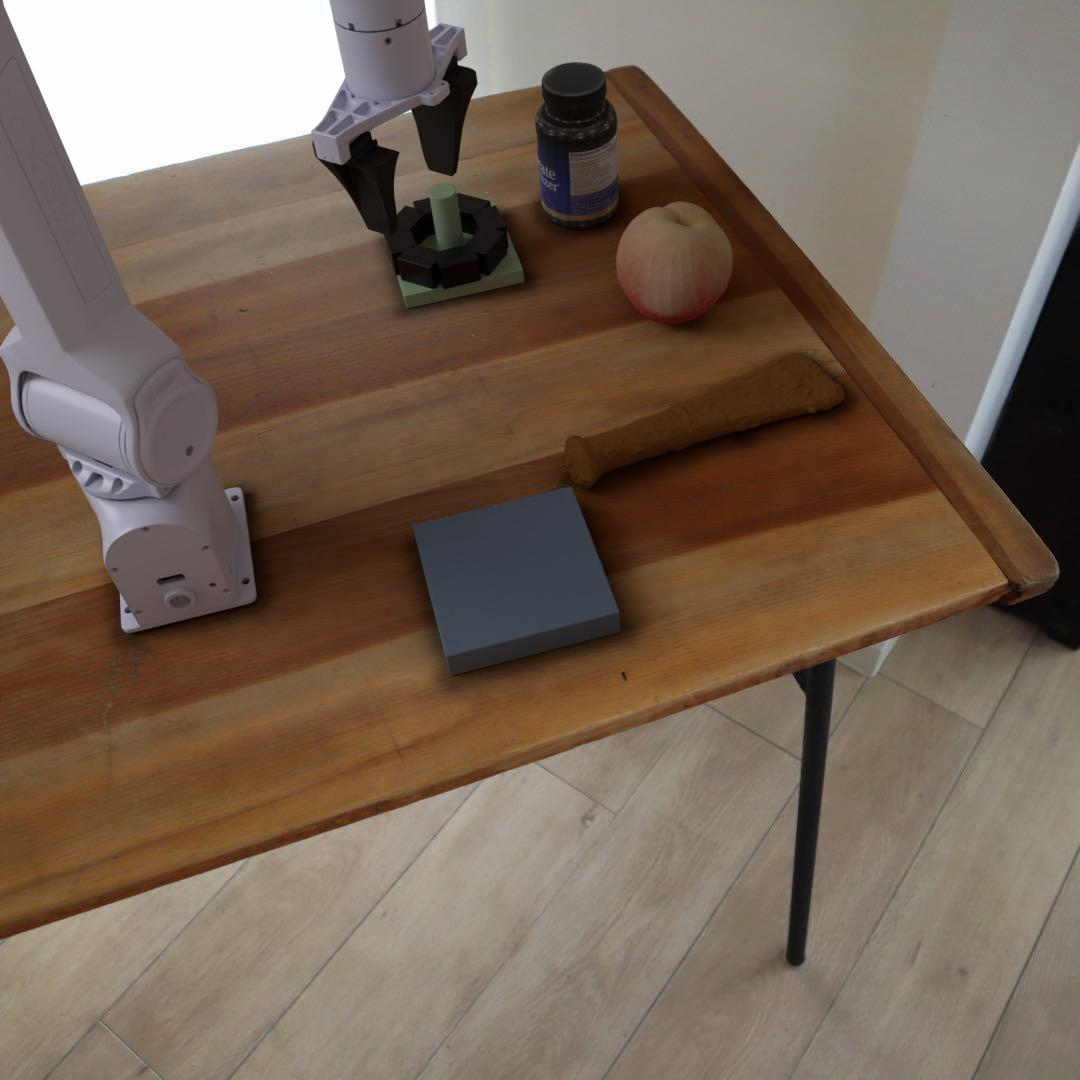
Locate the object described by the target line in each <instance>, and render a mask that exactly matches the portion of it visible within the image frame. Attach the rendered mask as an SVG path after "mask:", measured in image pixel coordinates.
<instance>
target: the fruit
mask: <svg viewBox="0 0 1080 1080" xmlns="http://www.w3.org/2000/svg"><path fill="white" fill-rule="evenodd" d="M733 256H734V255H733V248H732V245H731V242H730V240H729V238H728V236H727V234H726V233H725V231H724V230H723V228H721V226H720V225H719V224H718V223H717V222H716V221H715V219H714V217H713V216H712V215H711V214H710V213H709V212H707V211H706V210H705V209H704V208H703V207H701V206H699V205H697V204H695V203H692V202H688V201H680V200H679V201H675V202H670V203H668V204H667V205H665V206H663V207H661V206H653V207H650V208H647V209H645V210H644V211H642V212H641V213H639V214H638V215H637V216H635V218H633V219H632V220H631V221H630V222H629V224H628V226H627V227H626V229H625V230H624V231H623V233H622V235H621V238H620V240H619V244H618V246H617V250H616V266H615V267H616V275H617V278H618V280H619V283H620V286H621V289H622V291H623V293H624V294H625V297H626V298H627V299H628V301H629V302H630V303H631V305H633V307H634V308H635V309H636V310H637V311H638V312H639V313H640V314H642V315H643V316H644V317H645V318H647V319H648V320H649V321H652V322H654V323H656V324H660V325H664V326H674V325H682V324H685V323H689V322H691V321H693V320H695V319H697V318H699V317H701V316H703V315H704V314H705V313H706V312H707V311H709V310H710V309H711V308H712V307H713V306H714V305H715V304H716V303H717V302H718V301H719V299H720V298H721V297H722V296H723V294H724V293H725V292H726V290H727V288H728V286H729V283H730V279H731V277H732V271H733Z"/></svg>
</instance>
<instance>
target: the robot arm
mask: <svg viewBox="0 0 1080 1080" xmlns="http://www.w3.org/2000/svg"><path fill="white" fill-rule="evenodd" d="M328 1H329V6H330V11H331V15H332V20H333V25H334V29H335V36H336V39H337V44H338V49H339V54H340V58H341V62H342V63H341V64H342V67H343V73H344V79H343V81H342V83H341V85H340V86H339V88H338V90H337V92H336V94H335V96H334V98H333V100H332V101H331V103H330V105H329V107H328V109H327V111H326V113H325V115H324V116H323V118H322V119H321V120H320V122H318V124H317V125H316V126H315V127H314V128H313V129H312V130H311V131H310V132H311V137H312V142H311V146H312V149H313V153H314V157H315V158H316V159H317V161H319V162H320V163H321V164H322V165H323V166H324V167H325V168H326V169H327V170H328V171H329V172H330V173H331V174H332V175H333V176H334V178H335V179H337V181H338V182H339V183H340V185H341V186H342V187H343V188H344V190H345V191H346V192H347V194H348V196H349V197H350V199H351V201H352V202H353V204H354V206H355V207H356V209H357V211H358V213H359V214H360V217H361V218H362V220H363V222H364V224H365V226H366V228H367V230H369V231H372V232H375V233H379V234H382V235H383V236H384V235H388V236H392V235H393V234H394V233H395V232H396V231H397V213H398V212H397V205H396V204H397V203H396V198H395V197H396V196H395V176H396V175H395V174H396V168H397V164H398V161H399V160H398V159H399V156H400V153H401V152H400V151H398V150H395V149H391V148H388V147H384V146H381V145H379V143H378V139H376V138H374V139H373V137H372V132H371V131H372V130H373V129H374V128H376V127H379V126H380V125H383V124H384V123H388V122H389V121H391V120H393V119H395V118H397V117H399V116H401V115H403V114H405V113H408V112H409V111H411V113H412V117H413V120H414V123H415V126H416V129H417V134H418V139H419V142H420V147H421V151H422V155H423V158H424V161H425V164H426V167H427V169H428V171H431V172H433V173H438V174H441V175H445V176H448V177H454V176H455V175H456V174H457V172H458V167H459V160H460V152H461V144H462V136H463V129H464V124H465V119H466V116H467V113H468V110H469V106H470V103H471V100H472V98H473V95H474V93H475V90H476V88H477V86H478V83H479V82H478V74H477V71H476V70H475V69H474V68H471V67H468V66H463V65H460V64H459V62H461V61H462V60H463V59H464V58H466V57H467V56H468V47H467V39H466V32H465V31H466V30H465V28H464V27H461V26H456V25H453V24H448V23H443V22H439V23H438V24H437V25H435V26H434V27H432V28H430V29H429V23H428V16H427V7H426V2H425V1H426V0H328ZM35 77H36V76H35V75H34V72H33V70H32V68H31V65H30V63H29V61H28V59H27V56H26V54H25V51H24V50H23V47H22V45H21V42H20V40H19V38H18V35H17V33H16V30H15V28H14V26H13V24H12V21H11V19H10V16H9V14H8V12H7V9H6V7H5V4H4V0H0V297H1V299H2V301H3V304H4V306H5V307H6V309H7V311H8V313H9V315H10V317H11V319H12V320H13V322H14V326H13V327H12V328H11V330H10V331H9V332H8V333H7V335H6V337H5V338H4V339H3V342H2V343H1V345H0V358H1V359H2V362H3V364H4V366H5V368H6V371H7V372H8V376H9V381H10V402H11V407H12V411H13V414H14V417H15V419H16V421H17V422H18V424H19V425H20V426H21V427H22V429H23V430H24V431H26V433H28V434H29V435H31V436H33V437H35V438H37V439H40V440H45V441H47V442H53V443H55V445H56V447H57V449H58V450H59V452H60V454H61V456H62V458H63V459H64V460H66V461H67V464H68V466H69V468H70V470H71V473H72V474H73V476H74V478H75V480H76V482H77V483H78V485H79V487H80V489H81V490H82V492H83V494H84V496H85V497H86V499H87V502H88V503H89V505H90V506H91V508H92V510H93V512H94V514H95V516H96V518H97V519H98V523H99V526H100V531H101V540H102V556H103V564H104V566H105V569H106V571H107V573H108V575H109V576H110V578H111V580H112V582H113V583H114V585H115V587H116V588H117V590H118V592H119V605H120V606H119V607H120V608H119V609H120V626H121V629H122V630H123V632H124V633H126V634H132V633H136V632H141V631H145V630H148V629H153V628H157V627H161V626H164V625H169V624H172V623H177V622H180V621H185V620H190V619H193V618H197V617H202V616H206V615H209V614H213V613H217V612H221V611H226V610H230V609H233V608H237V607H241V606H245V605H249V604H253V602H255V601H256V599H257V597H258V593H257V587H256V579H255V572H254V564H253V556H252V547H251V539H250V533H249V525H248V517H247V511H246V501H245V495H244V492H243V490H242V488H240V487H239V486H236V487H229V488H226V489H225V488H224V485H223V483H222V481H221V478H220V475H219V473H218V470H217V469H216V466H215V464H214V462H213V459H212V457H211V455H210V452H211V450H212V448H213V446H214V443H215V441H216V436H217V433H218V426H219V409H218V408H219V407H218V402H217V397H216V394H215V392H214V390H213V388H212V387H211V385H210V384H209V383H208V382H207V381H206V379H204V378H202V377H201V376H199V375H198V374H196V373H195V372H194V371H193V370H191V368H190V367H189V365H188V363H187V361H186V359H185V357H184V353H183V352H182V350H181V348H180V347H179V345H178V344H177V343H176V342H175V341H174V340H173V339H171V338H170V337H169V336H168V335H167V334H166V333H165V332H163V331H162V330H161V329H160V328H159V327H158V326H156V324H154V323H153V322H152V321H151V320H150V319H149V318H147V316H145V315H144V314H143V313H142V312H141V311H140V310H138V309H137V307H135V305H133V303H132V302H131V300H130V298H129V295H128V293H127V290H126V288H125V286H124V283H123V281H122V278H121V277H120V274H119V272H118V269H117V267H116V264H115V263H114V260H113V257H112V255H111V253H110V251H109V248H108V246H107V244H106V241H105V239H104V237H103V235H102V232H101V230H100V227H99V225H98V222H97V220H96V218H95V216H94V213H93V211H92V208H91V206H90V204H89V201H88V199H87V197H86V194H85V192H84V190H83V187H82V184H81V183H80V180H79V178H78V176H77V173H76V171H75V169H74V167H73V164H72V162H71V159H70V157H69V155H68V152H67V149H66V147H65V145H64V143H63V141H62V138H61V136H60V134H59V132H58V129H57V126H56V124H55V122H54V119H53V117H52V115H51V113H50V111H49V108H48V105H47V103H46V100H45V99H44V96H43V94H42V91H41V89H40V86H39V84H38V82H37V80H36V78H35Z"/></svg>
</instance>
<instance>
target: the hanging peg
mask: <svg viewBox="0 0 1080 1080" xmlns="http://www.w3.org/2000/svg"><path fill="white" fill-rule="evenodd" d="M457 193H458V192H457V187H456V186H455V184H452V183H449V182H439V183H436V184H434V185H432V186H431V187H430V188H429V189H428V196H429V197H430V202H431V208H432V214H433V220H434V226H435V232H436V234H433V235H429V236H427V237H426V238H425V240H424V241H423V242H422V243H421V244H420V245H419V246H423V247H427V248H430V249H434V250H437V251H441V250H445V249H449V248H453V247H457V246H461V245H465V244H467V243H468V242H469V240H470V239H471V238H472V237H473V236H474V235H470V234H467V233H463V232H462V225H461V218H460V212H459V205H458V198H457ZM429 197H428V198H429ZM490 203H491V206H494V205H496V206H497V208H498V209H499V207H498V205H497V203H496V202H490ZM507 236H508V245H509V247H508V248H507V255H506V256H505V257H504V258H503V260H502V261H501V262H500V263H499V264H498V266H497V267H496V268H495V269H494V270H493V271H492V273H491V274H490V275H489V276H488V275H484V274H481V280H480V281H476V282H472V283H468V284H464V285H460V286H456V287H452V288H448V289H443V287H442V285H441V282H440V284H439V285H438V286H437V287H436V288H435V289H431V288H427V287H424V286H420V285H417V284H413V283H410V282H407V281H403V280H401V275H396V277H397V280H398V284H399V287H400V290H401V294H402V298H403V301H404V304H405V308H406V309H412V308H416V307H420V306H425V305H430V304H433V303H438V302H442V301H446V300H451V299H455V298H460V297H465V296H469V295H474V294H478V293H482V292H487V291H492V290H497V289H500V288H505V287H509V286H510V287H511V286H513V285H518V284H523V283H525V275H524V269H523V266H522V264H521V261H520V258H519V257H518V254H517V252H516V249H515V247H514V244H513V241H512V240H511V239H512V238H511V237H510V234H509V232H508V231H507Z"/></svg>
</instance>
